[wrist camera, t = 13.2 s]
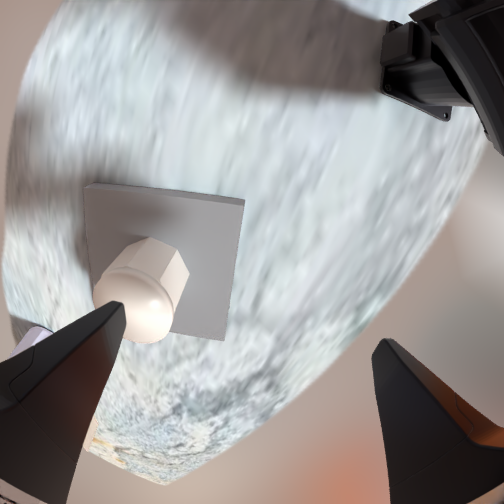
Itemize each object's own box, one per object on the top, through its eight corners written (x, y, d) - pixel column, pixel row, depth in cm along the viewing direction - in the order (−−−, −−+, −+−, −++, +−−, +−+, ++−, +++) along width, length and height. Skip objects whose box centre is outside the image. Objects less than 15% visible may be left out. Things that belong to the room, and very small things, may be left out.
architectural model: (84, 416, 37) (72, 445, 31) (75, 399, 34) (60, 431, 28) (99, 422, 38) (88, 452, 31) (91, 406, 35) (77, 439, 28)
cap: (143, 306, 21) (122, 347, 17) (111, 251, 19) (78, 286, 14) (200, 291, 20) (186, 336, 16) (168, 228, 18) (142, 262, 14)
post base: (245, 199, 19) (241, 228, 14) (225, 329, 24) (219, 376, 19) (93, 182, 18) (50, 204, 13) (105, 306, 23) (80, 343, 18)
